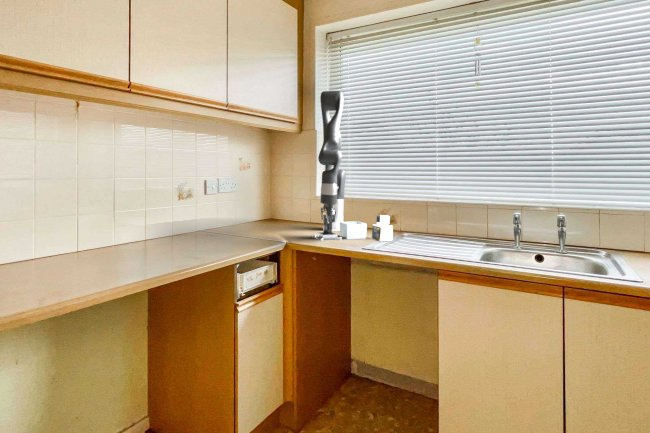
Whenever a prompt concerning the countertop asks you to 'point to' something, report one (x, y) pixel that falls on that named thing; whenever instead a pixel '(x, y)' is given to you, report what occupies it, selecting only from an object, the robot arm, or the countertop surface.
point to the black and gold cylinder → (325, 225)
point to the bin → (353, 230)
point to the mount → (326, 236)
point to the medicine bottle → (382, 229)
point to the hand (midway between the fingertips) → (327, 230)
